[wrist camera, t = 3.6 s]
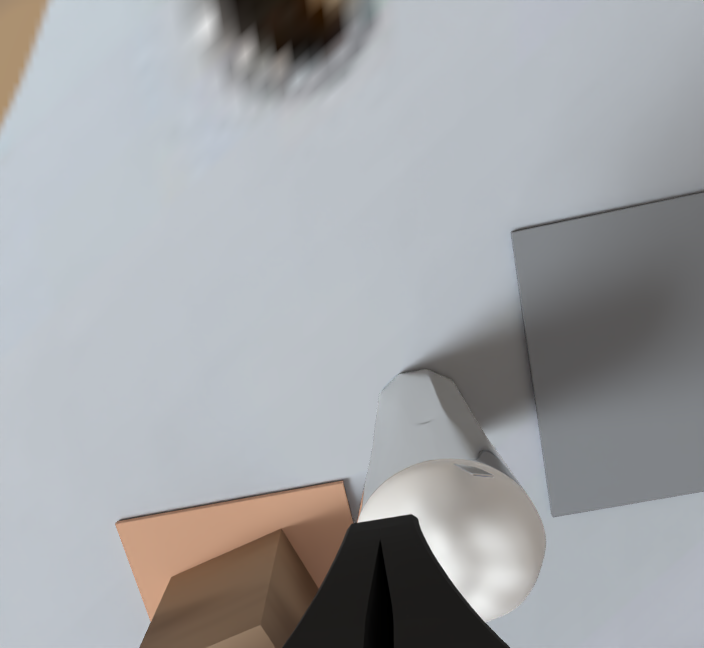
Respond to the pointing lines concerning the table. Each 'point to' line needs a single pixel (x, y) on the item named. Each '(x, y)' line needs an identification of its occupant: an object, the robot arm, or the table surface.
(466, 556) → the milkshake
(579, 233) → the tile slate
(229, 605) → the walnut block
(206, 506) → the tile terracotta
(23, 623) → the table surface
